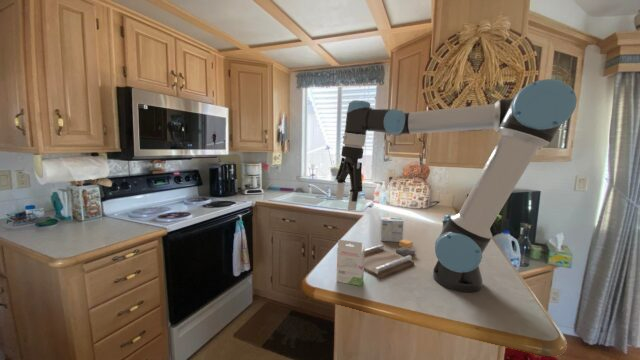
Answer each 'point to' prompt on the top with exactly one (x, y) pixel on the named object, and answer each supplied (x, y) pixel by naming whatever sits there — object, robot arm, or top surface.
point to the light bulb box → (391, 229)
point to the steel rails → (387, 265)
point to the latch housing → (405, 251)
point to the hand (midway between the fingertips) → (344, 204)
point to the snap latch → (405, 243)
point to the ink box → (350, 262)
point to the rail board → (383, 262)
